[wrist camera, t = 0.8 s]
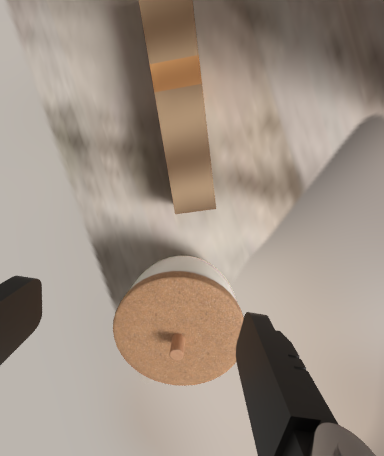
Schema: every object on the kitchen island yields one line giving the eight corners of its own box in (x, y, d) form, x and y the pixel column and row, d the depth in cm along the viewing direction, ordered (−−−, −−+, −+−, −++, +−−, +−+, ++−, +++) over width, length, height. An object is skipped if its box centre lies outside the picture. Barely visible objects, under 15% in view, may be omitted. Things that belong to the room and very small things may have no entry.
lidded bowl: (190, 337, 31) (185, 427, 20) (121, 286, 29) (75, 357, 18) (252, 281, 28) (284, 352, 17) (179, 220, 26) (164, 259, 15)
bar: (150, 21, 20) (134, -24, 15) (191, 13, 20) (188, -36, 15) (180, 204, 25) (175, 214, 20) (213, 200, 25) (216, 208, 20)
